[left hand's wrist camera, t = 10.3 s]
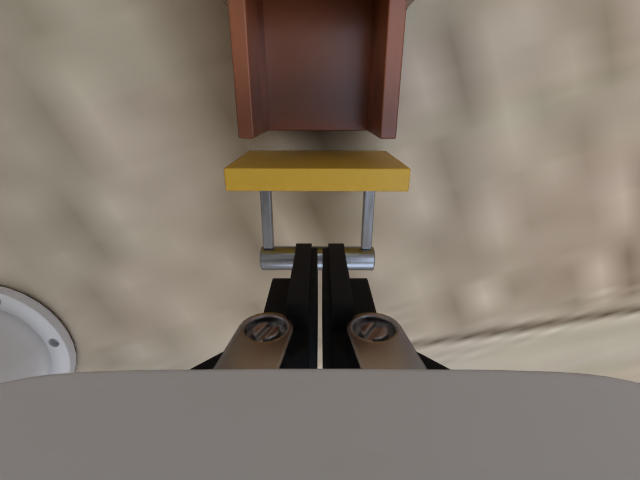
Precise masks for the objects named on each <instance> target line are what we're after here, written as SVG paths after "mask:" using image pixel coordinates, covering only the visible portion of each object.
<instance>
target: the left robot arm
mask: <svg viewBox="0 0 640 480" xmlns="http://www.w3.org/2000/svg"><path fill="white" fill-rule="evenodd" d="M317 346H318V248H312V244H296V249H295V255H294V261H293V267H292V272H291V278H273V280H272V283H271V287H270V291H269V295H268V298H267V302H266V306H265V309H264V313H261V314H256V315H254V316H251V317H249V318H247V319H246V320H244V321H243V322H242V323H241V325H240V326H239V327H238V329H237V331H236V332H235V334H234V336H233V337H232V339H231V340H230V342H229V344H228V345H227V347H226V349H225V350H224V352H222V353H220V354H218V355H216V356H214V357H212V358H211V359H209V360H207V361H205V362H203V363H201V364H199V365H197V366H195V367H194V368H192V369H190V370H130V371H99V372H74V371H75V367H76V352H75V348H74V344H73V342H72V339H71V337H70V335H69V333H68V331H67V330H66V329H65V327H64V326H63V325H62V323H61V322H60V321H59V320H58V319H57V318H56V317H55V316H54V315H53V314H52V313H51V312H50V311H49V310H48V309H47V308H45V307H44V306H43V305H41V304H40V303H39V302H37V301H35V300H33V299H32V298H30V297H28V296H26V295H25V294H22V293H20V292H17V291H14V290H12V289H9V288H6V287H1V286H0V480H640V383H636V382H632V381H627V380H622V379H617V378H612V377H606V376H598V375H590V374H580V373H565V372H543V371H507V370H450V369H448V368H446V367H445V366H443V365H441V364H439V363H437V362H435V361H433V360H431V359H429V358H428V357H426V356H424V355H422V354H420V353H418V352H416V350H415V349H414V347H413V345H412V344H411V342H410V340H409V339H408V337H407V336H406V334H405V332H404V331H403V329H402V327H401V326H400V325H399V323H398V322H397V321H396V320H394V319H393V318H391V317H389V316H386V315H384V314H379V313H376V309H375V306H374V302H373V298H372V295H371V291H370V287H369V283H368V280H367V278H349V272H348V267H347V261H346V255H345V249H344V244H328V248H322V346H323V369H317Z"/></svg>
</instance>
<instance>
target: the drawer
mask: <svg viewBox="0 0 640 480" xmlns="http://www.w3.org/2000/svg"><path fill="white" fill-rule="evenodd" d="M406 5H407V0H228V10H229V23H230V35H231V48H232V60H233V72H234V85H235V97H236V110H237V122H238V134H239V138H254V137H256V136H258V135H260V134H262V133H264V132H266V131H268V130H353V131H369V132H371V133H372V134H374V135H376V136H377V137H379V138H381V139H395V138H396V129H397V117H398V104H399V92H400V79H401V67H402V55H403V42H404V30H405V17H406ZM224 175H225V186H226V190H227V191H260V198H261V215H262V231H263V247H262V248H261V251H260V266H261V269H262V270H292V267H293V261H294V255H295V249H296V246H274V233H273V213H272V193H271V191H364V193H363V213H362V233H361V247H344V249H345V255H346V261H347V267H348V270H373V269H374V265H375V252H374V248H373V247H371V245H372V229H373V213H374V197H375V191H408V189H409V179H410V168H408V167H407V166H406V165H404V164H403V163H402V162H400V161H399V160H397V159H396V158H395V157H393V156H392V155H391V154H389V153H388V152H387V151H249V152H247V153H246V154H244V155H243V156H241V157H240V158H238V159H237V160H236V161H234V162H233V163H231V164H230V165H228V166H227V167H225V168H224ZM312 248H318V270H322V248H328V247H321V246H312Z"/></svg>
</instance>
